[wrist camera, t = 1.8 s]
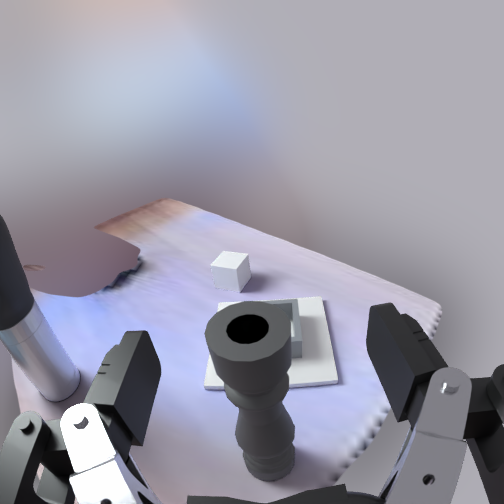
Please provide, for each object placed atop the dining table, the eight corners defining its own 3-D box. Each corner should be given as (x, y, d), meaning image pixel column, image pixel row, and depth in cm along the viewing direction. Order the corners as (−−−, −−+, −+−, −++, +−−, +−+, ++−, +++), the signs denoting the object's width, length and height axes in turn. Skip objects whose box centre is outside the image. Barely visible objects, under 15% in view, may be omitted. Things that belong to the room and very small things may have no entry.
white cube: (240, 293, 64) (236, 269, 61) (215, 288, 66) (210, 265, 63) (251, 277, 68) (248, 253, 65) (227, 273, 71) (223, 250, 68)
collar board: (205, 389, 43) (197, 370, 41) (219, 306, 60) (215, 286, 58) (337, 383, 42) (340, 363, 39) (321, 300, 59) (321, 279, 56)
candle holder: (298, 477, 30) (304, 356, 17) (247, 483, 29) (199, 370, 17) (290, 437, 35) (286, 293, 22) (244, 443, 35) (202, 304, 22)
